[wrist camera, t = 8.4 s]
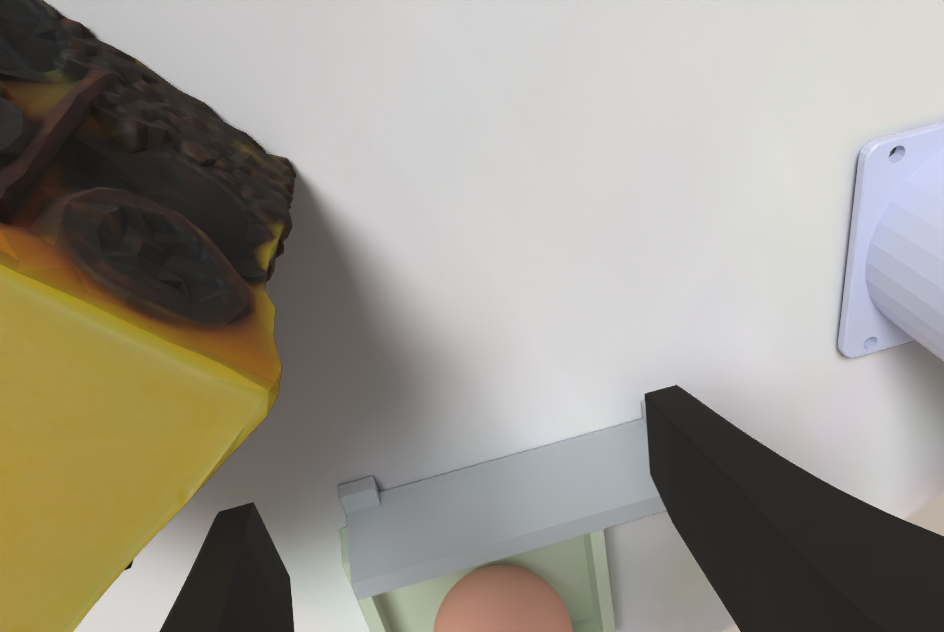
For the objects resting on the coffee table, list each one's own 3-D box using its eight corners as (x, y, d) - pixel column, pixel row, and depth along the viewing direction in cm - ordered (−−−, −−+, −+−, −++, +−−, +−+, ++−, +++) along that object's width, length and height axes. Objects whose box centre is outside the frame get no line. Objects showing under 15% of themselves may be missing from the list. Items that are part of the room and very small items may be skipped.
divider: (673, 392, 26) (721, 459, 23) (675, 442, 27) (721, 512, 25) (338, 485, 25) (344, 567, 22) (356, 532, 27) (364, 615, 24)
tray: (583, 460, 27) (598, 491, 26) (603, 612, 32) (617, 645, 31) (339, 529, 26) (342, 564, 25) (398, 673, 31) (403, 709, 30)
